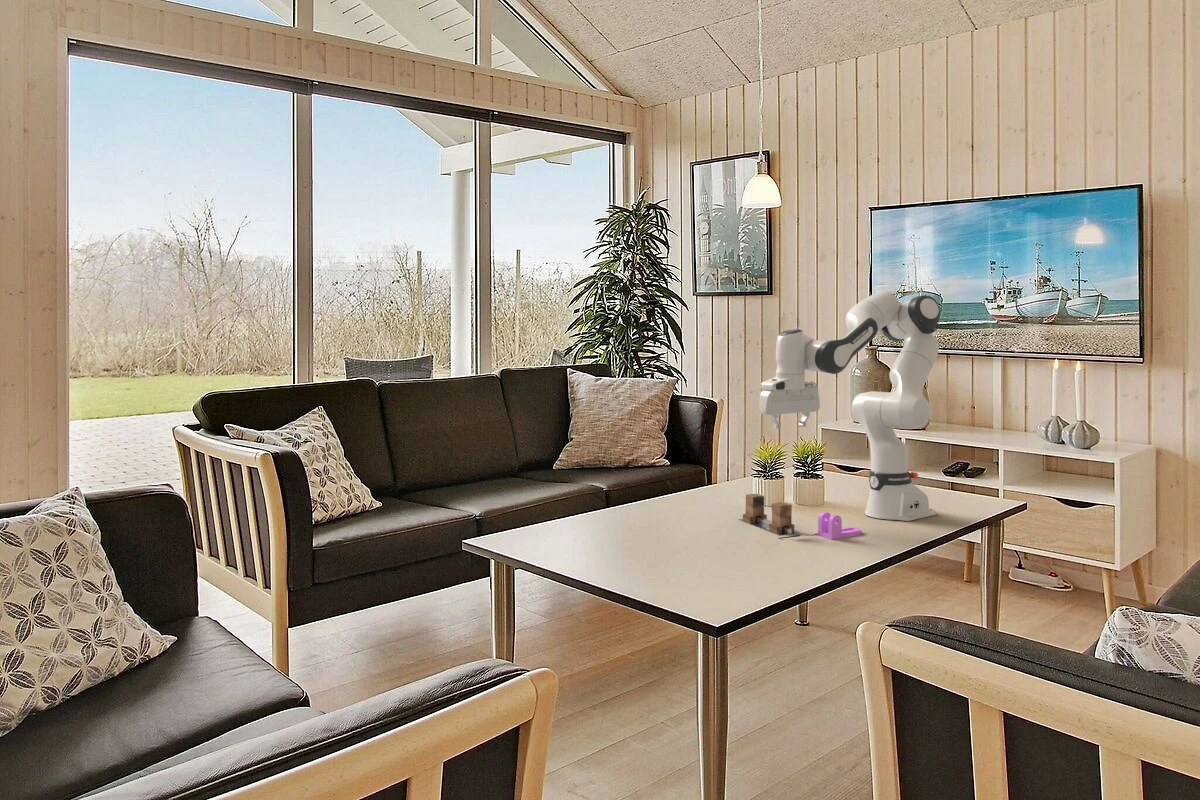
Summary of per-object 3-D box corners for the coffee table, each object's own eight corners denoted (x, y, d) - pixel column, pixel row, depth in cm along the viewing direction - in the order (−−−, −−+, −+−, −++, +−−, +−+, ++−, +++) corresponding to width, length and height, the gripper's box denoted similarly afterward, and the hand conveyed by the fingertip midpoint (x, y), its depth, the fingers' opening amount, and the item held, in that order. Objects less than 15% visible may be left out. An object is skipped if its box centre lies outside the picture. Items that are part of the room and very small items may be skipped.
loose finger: (784, 527, 263) (784, 501, 262) (794, 531, 259) (794, 504, 258) (767, 530, 261) (767, 503, 260) (777, 533, 257) (777, 506, 256)
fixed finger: (759, 518, 275) (759, 493, 275) (768, 521, 271) (768, 495, 270) (742, 520, 273) (742, 494, 272) (751, 523, 269) (751, 497, 268)
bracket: (831, 540, 253) (831, 516, 252) (818, 536, 258) (818, 512, 257) (865, 534, 259) (865, 510, 258) (851, 530, 264) (851, 507, 263)
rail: (757, 520, 277) (757, 512, 277) (799, 536, 257) (799, 527, 257) (737, 522, 275) (737, 514, 274) (779, 538, 255) (779, 530, 254)
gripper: (811, 380, 279) (811, 424, 280) (756, 383, 271) (756, 428, 272) (824, 382, 273) (823, 426, 275) (768, 385, 265) (768, 431, 266)
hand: (789, 427), depth 273 cm, fingers open, 8 cm apart
